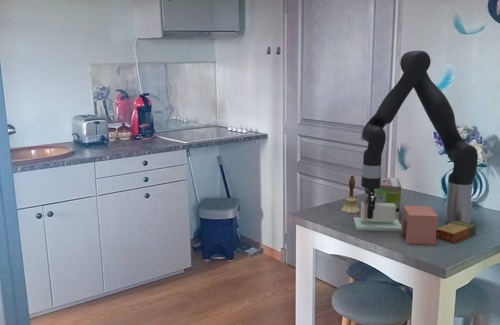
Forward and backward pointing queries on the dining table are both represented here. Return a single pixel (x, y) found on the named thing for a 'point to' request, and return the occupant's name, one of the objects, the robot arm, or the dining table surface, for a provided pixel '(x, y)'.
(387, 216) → the white pink-banded block
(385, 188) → the tea box
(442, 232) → the carton
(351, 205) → the hand bell
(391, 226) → the stub board
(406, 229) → the salmon pink box
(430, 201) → the dining table surface
